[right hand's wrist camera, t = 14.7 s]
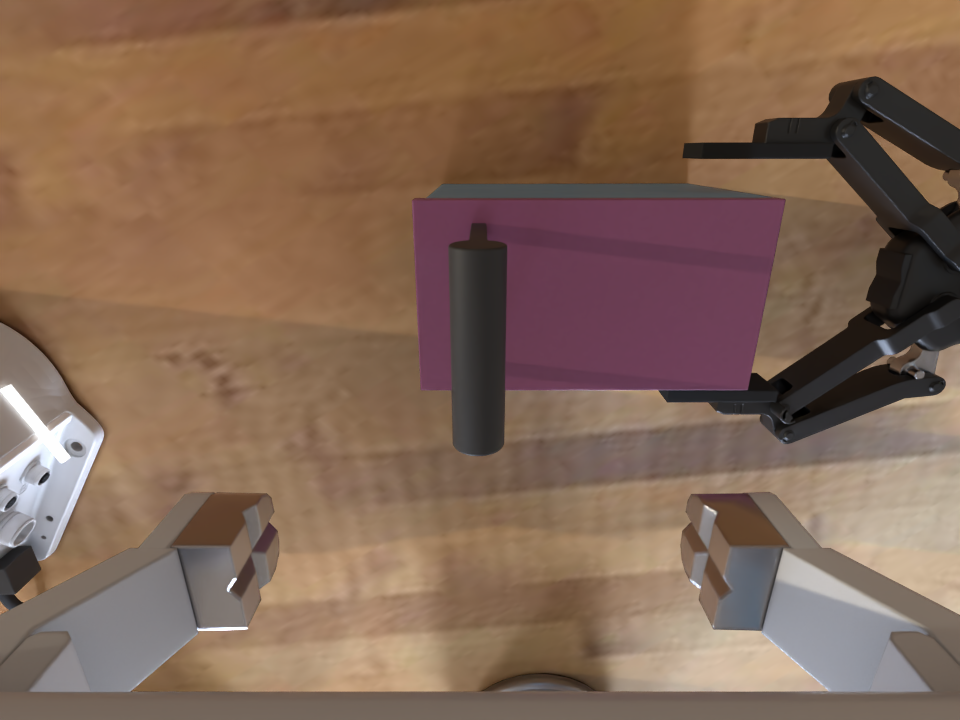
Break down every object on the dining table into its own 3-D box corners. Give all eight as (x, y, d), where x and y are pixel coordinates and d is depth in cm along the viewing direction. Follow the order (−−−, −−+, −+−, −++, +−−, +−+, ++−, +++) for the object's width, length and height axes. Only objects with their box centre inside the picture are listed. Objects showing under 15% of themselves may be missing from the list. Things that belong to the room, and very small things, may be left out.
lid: (422, 383, 28) (398, 477, 20) (414, 197, 25) (381, 221, 17) (739, 382, 28) (844, 476, 20) (775, 197, 25) (918, 220, 17)
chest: (445, 320, 39) (431, 382, 28) (441, 184, 35) (424, 198, 25) (669, 320, 39) (739, 382, 28) (688, 183, 35) (775, 197, 25)
